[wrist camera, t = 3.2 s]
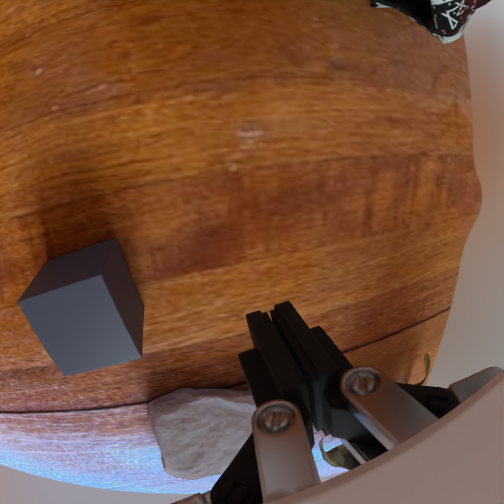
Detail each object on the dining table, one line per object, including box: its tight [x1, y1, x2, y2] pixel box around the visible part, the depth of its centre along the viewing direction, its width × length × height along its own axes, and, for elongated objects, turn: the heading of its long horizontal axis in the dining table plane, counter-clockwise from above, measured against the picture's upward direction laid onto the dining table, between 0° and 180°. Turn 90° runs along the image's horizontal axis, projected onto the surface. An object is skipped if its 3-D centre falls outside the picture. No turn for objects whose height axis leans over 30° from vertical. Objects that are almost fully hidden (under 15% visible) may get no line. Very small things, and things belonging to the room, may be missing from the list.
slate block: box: [18, 237, 144, 376], centre depth 15 cm, size 5×5×5 cm
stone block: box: [148, 388, 257, 480], centre depth 23 cm, size 12×5×10 cm
